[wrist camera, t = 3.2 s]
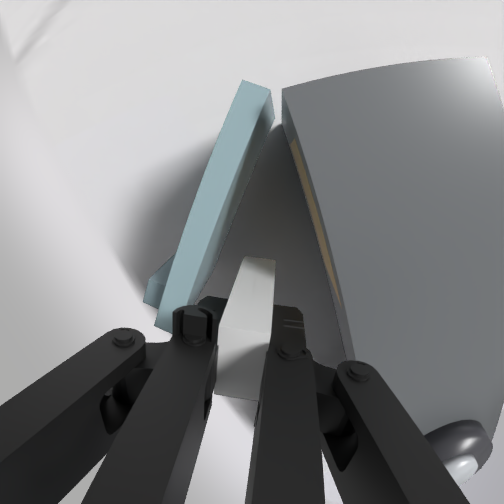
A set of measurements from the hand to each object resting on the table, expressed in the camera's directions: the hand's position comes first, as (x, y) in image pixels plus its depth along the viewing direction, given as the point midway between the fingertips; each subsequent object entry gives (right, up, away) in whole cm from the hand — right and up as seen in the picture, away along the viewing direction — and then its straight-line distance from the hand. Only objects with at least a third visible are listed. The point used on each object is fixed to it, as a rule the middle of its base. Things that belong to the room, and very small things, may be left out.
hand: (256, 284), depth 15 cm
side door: (-2, +5, +3) cm, 6 cm away
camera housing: (+9, -1, +5) cm, 10 cm away
